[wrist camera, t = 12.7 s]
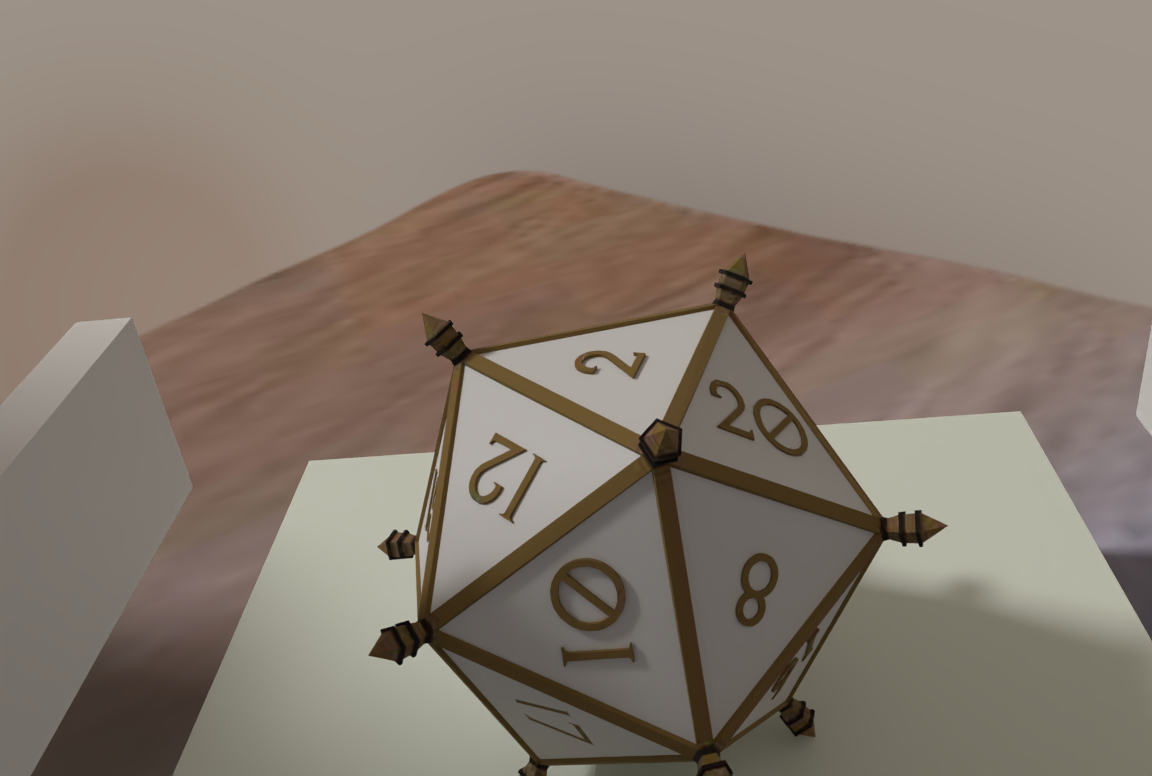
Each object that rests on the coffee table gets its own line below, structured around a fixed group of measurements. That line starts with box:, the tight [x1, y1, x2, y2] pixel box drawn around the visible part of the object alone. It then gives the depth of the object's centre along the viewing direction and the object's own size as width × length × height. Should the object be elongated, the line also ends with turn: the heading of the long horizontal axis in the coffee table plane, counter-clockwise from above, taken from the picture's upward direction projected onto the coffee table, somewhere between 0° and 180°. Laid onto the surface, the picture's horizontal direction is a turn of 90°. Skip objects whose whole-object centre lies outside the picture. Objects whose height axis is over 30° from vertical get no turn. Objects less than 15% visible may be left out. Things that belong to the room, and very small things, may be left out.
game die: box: [368, 254, 948, 776], centre depth 18 cm, size 9×8×10 cm
